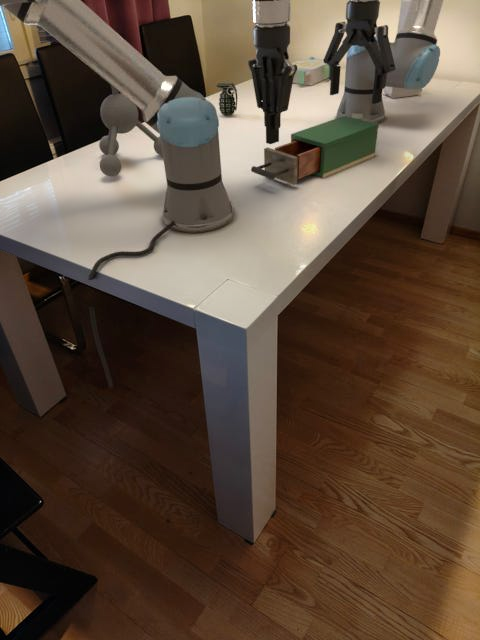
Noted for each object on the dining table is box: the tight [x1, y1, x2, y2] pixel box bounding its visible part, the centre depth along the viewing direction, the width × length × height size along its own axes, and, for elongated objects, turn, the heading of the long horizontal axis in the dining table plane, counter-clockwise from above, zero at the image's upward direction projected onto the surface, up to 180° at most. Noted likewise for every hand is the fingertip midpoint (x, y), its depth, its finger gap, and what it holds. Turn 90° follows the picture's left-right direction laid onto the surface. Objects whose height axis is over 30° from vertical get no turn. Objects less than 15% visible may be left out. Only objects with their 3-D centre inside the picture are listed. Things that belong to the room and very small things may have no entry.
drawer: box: [250, 140, 322, 186], centre depth 121 cm, size 25×10×6 cm, turn 131°
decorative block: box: [290, 56, 330, 86], centre depth 205 cm, size 26×6×20 cm
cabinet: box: [290, 116, 379, 179], centre depth 128 cm, size 21×12×8 cm, turn 131°
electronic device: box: [382, 0, 423, 99], centre depth 171 cm, size 12×8×30 cm, turn 105°
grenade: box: [215, 82, 238, 117], centre depth 166 cm, size 7×6×10 cm
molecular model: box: [98, 84, 163, 178], centre depth 128 cm, size 24×22×30 cm
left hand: (272, 142), depth 113 cm, fingers closed
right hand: (354, 98), depth 125 cm, fingers open, 13 cm apart
